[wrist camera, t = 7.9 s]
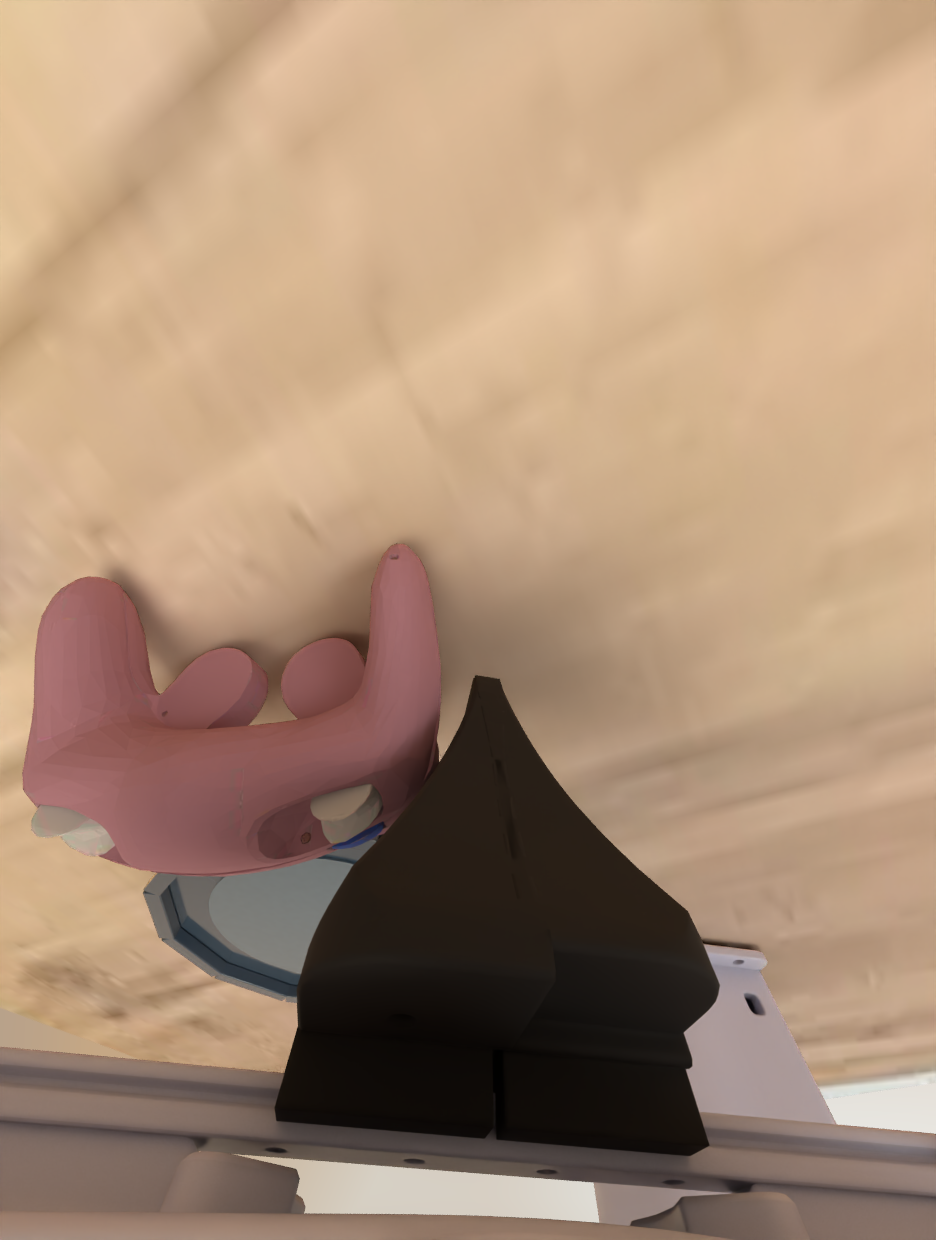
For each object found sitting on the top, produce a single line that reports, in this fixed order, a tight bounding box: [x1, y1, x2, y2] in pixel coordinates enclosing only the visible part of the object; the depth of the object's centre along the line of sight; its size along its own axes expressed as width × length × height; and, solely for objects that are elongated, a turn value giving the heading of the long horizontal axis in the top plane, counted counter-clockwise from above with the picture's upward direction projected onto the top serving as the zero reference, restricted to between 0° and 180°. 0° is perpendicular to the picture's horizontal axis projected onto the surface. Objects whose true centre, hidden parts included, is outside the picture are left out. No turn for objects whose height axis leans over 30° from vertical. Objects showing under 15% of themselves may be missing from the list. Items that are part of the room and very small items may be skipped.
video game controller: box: [22, 544, 441, 876], centre depth 10 cm, size 10×5×7 cm, turn 97°
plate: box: [143, 834, 383, 1003], centre depth 19 cm, size 15×15×1 cm
